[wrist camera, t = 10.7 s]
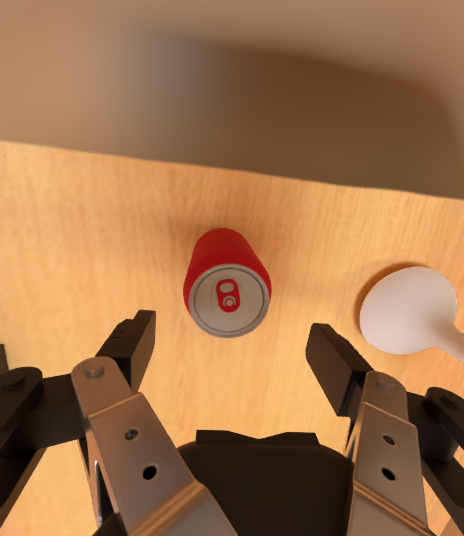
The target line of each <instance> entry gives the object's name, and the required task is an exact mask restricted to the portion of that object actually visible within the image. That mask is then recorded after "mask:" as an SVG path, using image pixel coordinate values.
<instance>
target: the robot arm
mask: <svg viewBox="0 0 464 536" xmlns="http://www.w3.org/2000/svg"><path fill="white" fill-rule="evenodd" d="M155 326H156V312H155V311H151V310H139V311H138V312H137V314H136V316H135V317H134V319H126V320H124V321H122V322H121V323H119V324H118V325H117V326H116V328H115V329H114V330H113V333H111V335H110V336H109V338H108V339H107V340H106V341H105V343H104V344H103V346H102V347H101V348H100V350H99V351H98V353H97V354H96V355H95V357H93V358H89V359H87V360H84V361H82V362H81V363H79V364H78V365H76V366H75V367H74V369H73V370H72V372H71V373H70V374H65V375H60V376H54V377H48V378H43V376H42V372H41V370H39V369H38V368H35V367H20V368H16V369H12V370H9V371H6V372H4V373H2V374H0V528H1V526H2V525H3V523H4V521H5V519H6V518H7V516H8V514H9V513H10V511H11V509H12V507H13V506H14V504H15V502H16V501H17V499H18V497H19V495H20V494H21V492H22V490H23V488H24V487H25V485H26V483H27V482H28V480H29V478H30V476H31V475H32V473H33V471H34V470H35V468H36V466H37V464H38V463H39V461H40V459H41V458H42V456H43V454H44V452H45V451H46V449H47V447H50V446H54V445H57V444H61V443H65V442H69V441H72V440H76V439H77V443H78V446H79V450H80V454H81V457H82V461H83V465H84V469H85V472H86V476H87V480H88V483H89V487H90V492H91V498H92V504H93V509H94V514H95V519H96V523H97V526H98V530H97V531H96V532H95V533H94V534H93V535H92V536H436V535H435V534H434V533H433V532H432V531H431V530H430V529H429V528H428V522H427V513H426V505H425V496H424V487H423V478H422V475H423V477H424V478H425V479H426V481H427V482H428V484H429V485H430V487H431V488H432V490H433V491H434V493H435V494H436V496H437V497H438V498H439V500H440V501H441V503H442V504H443V506H444V507H445V509H446V510H447V512H448V513H449V515H450V516H451V518H452V519H453V520H454V522H455V523H456V525H457V526H458V528H459V529H460V531H461V532H462V534H463V535H464V468H463V467H462V466H461V465H460V464H459V462H458V461H457V460H456V459H455V458H454V457H453V455H454V454H455V452H456V450H457V448H458V446H459V445H460V447H461V448H462V449H463V450H464V399H462V398H461V397H459V396H458V395H456V394H454V393H452V392H450V391H448V390H445V389H442V388H439V387H430V388H428V390H427V392H426V394H425V396H421V395H418V394H414V393H410V392H407V391H406V389H405V388H404V386H403V385H402V384H401V383H400V382H399V381H397V380H396V379H395V378H393V377H391V376H389V375H387V374H385V373H382V372H378V371H375V370H374V369H373V368H372V367H371V366H370V365H369V364H368V363H367V361H366V360H365V359H364V358H363V357H362V356H361V355H360V354H359V352H358V351H357V350H356V349H354V347H353V346H352V345H351V344H350V342H349V341H348V340H346V339H345V338H343V337H342V336H341V335H339V334H337V333H336V332H335V330H334V329H333V328H332V327H331V326H330V325H329V324H322V323H313V324H312V326H311V330H310V334H309V338H308V342H307V346H306V359H307V362H308V364H309V365H310V367H311V369H312V371H313V373H314V375H315V376H316V378H317V380H318V382H319V384H320V386H321V387H322V389H323V391H324V393H325V395H326V397H327V398H328V400H329V402H330V404H331V406H332V408H333V409H334V411H335V413H336V415H337V416H340V417H350V419H351V420H350V423H349V426H348V431H347V436H346V440H345V445H344V450H343V455H342V454H340V453H339V452H337V451H335V450H333V449H331V448H329V447H326V446H324V445H321V444H319V441H318V439H317V436H316V434H315V433H306V432H285V433H281V434H278V435H274V436H270V437H266V438H262V439H256V438H252V437H249V436H245V435H241V434H238V433H234V432H230V431H224V430H197V432H196V441H193V442H189V443H187V444H184V445H182V446H180V447H178V448H176V447H175V445H174V444H173V442H172V440H171V439H170V437H169V435H168V434H167V432H166V431H165V429H164V427H163V426H162V424H161V422H160V421H159V419H158V417H157V416H156V414H155V413H154V411H153V409H152V408H151V406H150V404H149V403H148V401H147V399H146V398H145V396H144V395H143V394H142V393H141V392H138V390H139V387H140V384H141V382H142V379H143V376H144V374H145V371H146V368H147V366H148V363H149V360H150V358H151V355H152V353H153V349H154V344H155ZM137 392H138V393H137Z"/></svg>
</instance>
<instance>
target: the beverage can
mask: <svg viewBox="0 0 464 536" xmlns="http://www.w3.org/2000/svg"><path fill="white" fill-rule="evenodd" d="M271 292H272V290H271V281H270V278H269V275H268V273H267V271H266V269H265V268H264V266H263V265H262V263H261V262H260V260H259V259H258V257H257V256H256V254H255V253H254V251H253V250H252V249H251V247H250V246H249V244H248V243H247V241H246V240H245V239H244V237H243V236H242V235H240V234H239V233H237V232H236V231H233V230H231V229H226V228H219V229H214V230H211V231H209V232H207V233H205V234H204V235H203V236H202V237H201V238H200V239H199V240H198V242H197V243H196V245H195V248H194V251H193V254H192V258H191V261H190V265H189V268H188V272H187V275H186V278H185V282H184V287H183V297H184V302H185V305H186V308H187V310H188V312H189V313H190V315H191V316H192V318H193V320H194V321H195V323H196V324H197V325H198V326H199V327H200V328H201V329H202V330H203V331H205V332H207V333H208V334H210V335H213V336H215V337H220V338H235V337H240V336H243V335H245V334H248V333H249V332H251V331H253V330H254V329H255V328H256V327H258V326H259V324H260V323H261V322H262V321H263V319H264V318H265V316H266V314H267V311H268V307H269V303H270V299H271Z"/></svg>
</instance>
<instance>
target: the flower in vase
mask: <svg viewBox="0 0 464 536" xmlns="http://www.w3.org/2000/svg"><path fill="white" fill-rule="evenodd" d="M456 314H457V298H456V293H455V290H454V288H453V286H452V284H451V283H450V282H449V281H448V279H447V278H446V277H445V276H444V275H443V274H441V273H440V272H438V271H436V270H434V269H432V268H428V267H421V266H420V267H408V268H405V269H401V270H398V271H396V272H393V273H391V274H389V275H387V276H386V277H384V278H383V279H381V280H380V281H379V282H378V283H376V284H375V286H374V287H373V288H372V289H371V290H370V291H369V293H368V294H367V296H366V297H365V299H364V301H363V304H362V307H361V311H360V328H361V332H362V334H363V336H364V338H365V340H366V341H367V342H368V343H369V344H370V345H371V346H373V347H374V348H376V349H378V350H381V351H383V352H386V353H390V354H410V353H416V352H420V351H423V350H426V349H428V348H431V347H438V348H440V349H442V350H444V351H446V352H447V353H449V354H450V355H452V356H454V357H455V358H456V359H458V360H459V361H460V362H462V363H463V364H464V334H463V333H461V332H460V331H459V330H458V329H457V328H456V327H455V326H454V322H455V319H456Z"/></svg>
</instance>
